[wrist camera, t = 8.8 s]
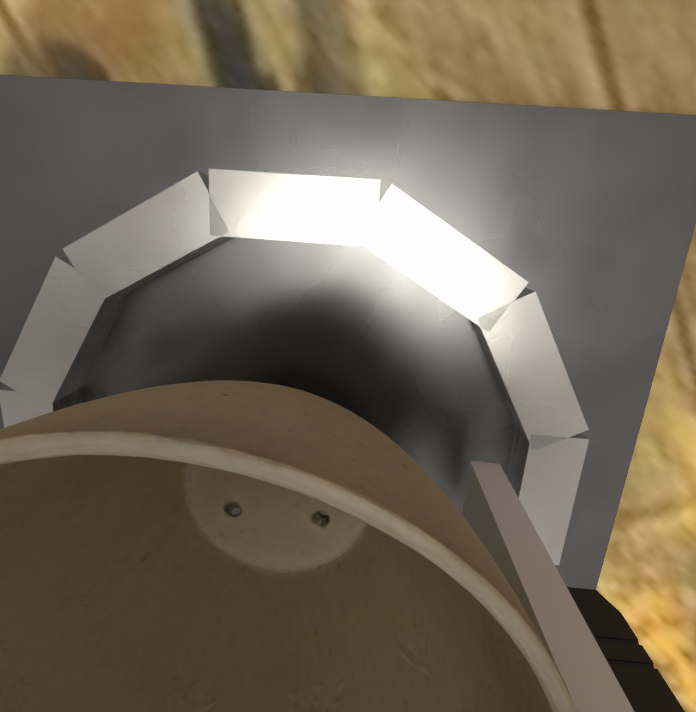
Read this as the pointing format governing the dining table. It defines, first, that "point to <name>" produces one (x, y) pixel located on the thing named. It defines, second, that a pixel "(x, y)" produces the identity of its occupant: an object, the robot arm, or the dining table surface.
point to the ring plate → (356, 269)
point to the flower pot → (246, 566)
